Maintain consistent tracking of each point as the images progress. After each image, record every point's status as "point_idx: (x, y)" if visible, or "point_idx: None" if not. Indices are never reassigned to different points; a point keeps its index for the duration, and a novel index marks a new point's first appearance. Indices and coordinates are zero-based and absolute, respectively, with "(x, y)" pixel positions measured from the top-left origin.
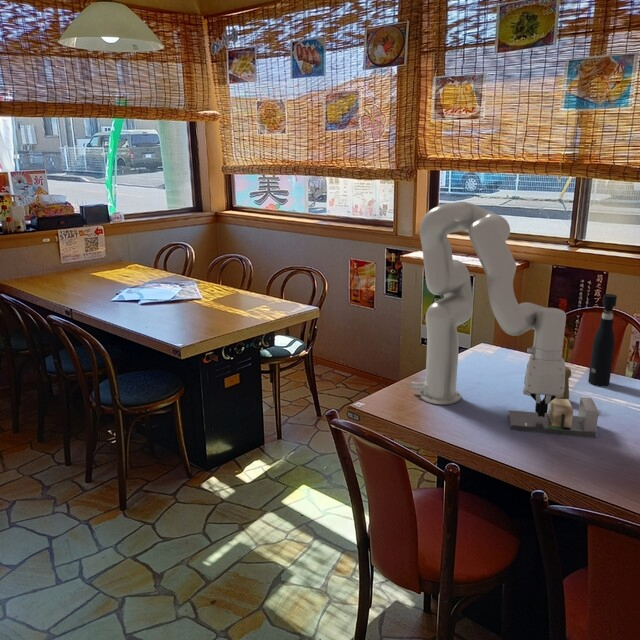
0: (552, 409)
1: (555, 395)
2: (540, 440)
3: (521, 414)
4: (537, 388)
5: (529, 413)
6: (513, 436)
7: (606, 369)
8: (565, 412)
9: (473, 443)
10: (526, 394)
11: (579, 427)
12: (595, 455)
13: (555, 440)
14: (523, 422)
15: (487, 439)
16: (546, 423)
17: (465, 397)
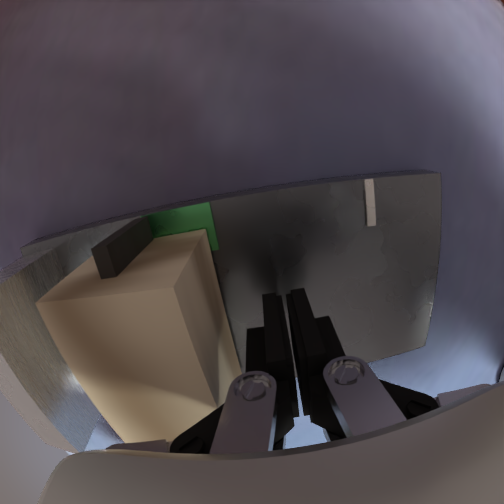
0: (201, 333)
1: (144, 452)
2: (267, 82)
3: (379, 328)
4: (473, 484)
5: None
6: (407, 95)
7: None
8: (86, 287)
9: (499, 30)
10: (468, 391)
11: None
12: (32, 69)
13: (183, 116)
14: (381, 230)
15: (480, 57)
16: (244, 269)
17: (489, 378)
